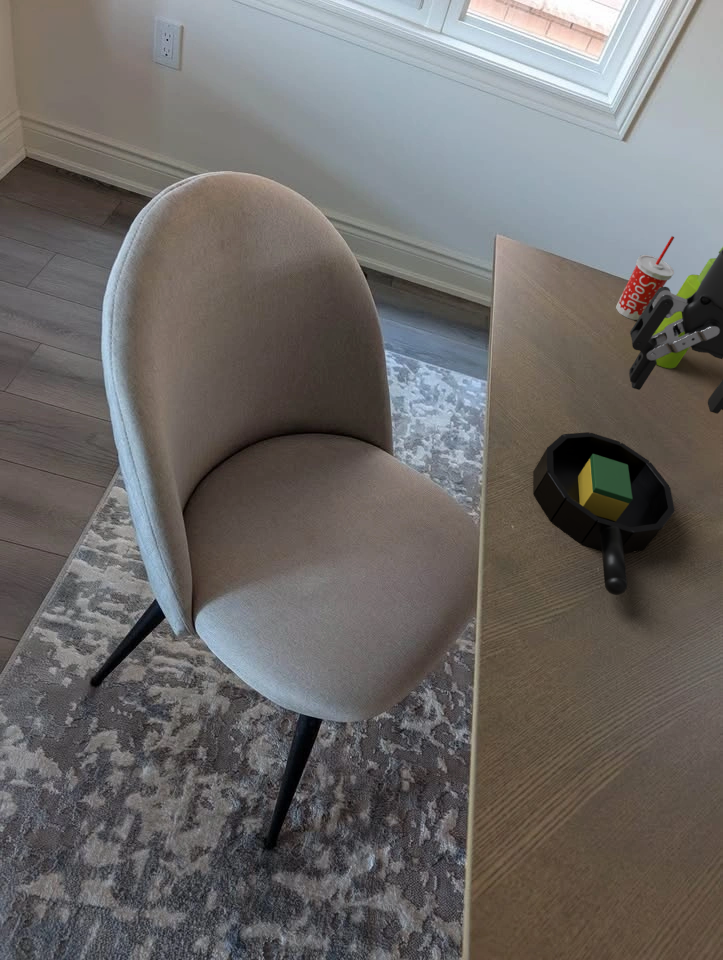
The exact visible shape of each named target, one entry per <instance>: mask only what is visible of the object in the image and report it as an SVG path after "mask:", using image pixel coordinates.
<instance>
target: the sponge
mask: <svg viewBox="0 0 723 960" xmlns="http://www.w3.org/2000/svg"><path fill="white" fill-rule="evenodd" d="M578 485H579V501H580V504H581V505H582V506H583V507H585V508H586V509H588V510H589V511H590V512H592V513H593V514H595V515H596V516H599V517H603V518H606V519H609V520H612V521H617V519H618V518H619V517H620V515H621V514H622V513H623V511H624V510H625V509H626V507H627V506H628V505H629V503H630V502H631V501H632V499H633V498H632V491H631V483H630V476H629V469H628V465H627V464H624V463H621V462H618V461H615V460H611V459H608V458H605V457H602V456H599V455H596V454H592V456H591V457H590V459H589V460H588V462H587V463H586V465H585V466H584V468H583V470H582V471H581V473H580V474H579V476H578Z"/></svg>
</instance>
